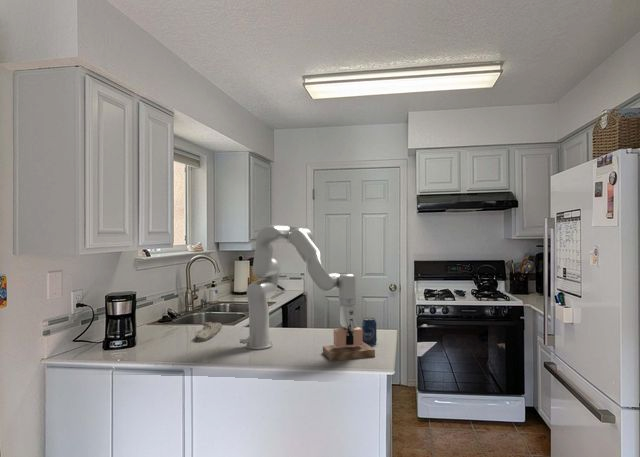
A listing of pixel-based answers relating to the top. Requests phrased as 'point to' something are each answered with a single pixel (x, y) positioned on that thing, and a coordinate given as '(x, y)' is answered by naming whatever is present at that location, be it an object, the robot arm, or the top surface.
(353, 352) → the walnut stand
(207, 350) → the top surface
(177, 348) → the top surface
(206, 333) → the elongated rock
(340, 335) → the terracotta block
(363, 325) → the soda can
